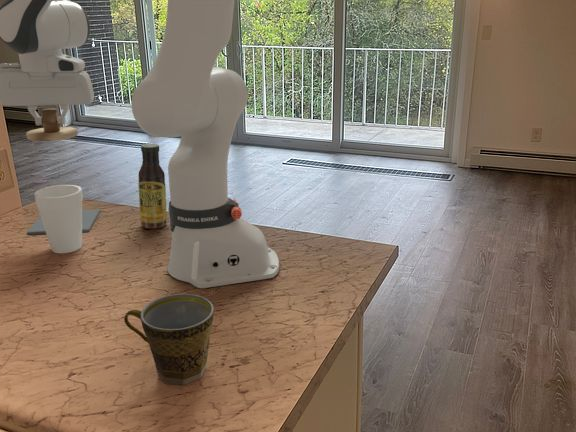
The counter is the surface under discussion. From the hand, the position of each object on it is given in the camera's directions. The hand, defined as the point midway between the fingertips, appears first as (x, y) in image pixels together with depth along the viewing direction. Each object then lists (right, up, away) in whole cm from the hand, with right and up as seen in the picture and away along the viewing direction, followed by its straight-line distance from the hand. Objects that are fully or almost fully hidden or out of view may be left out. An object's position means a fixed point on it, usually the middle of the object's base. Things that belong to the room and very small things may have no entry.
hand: (51, 124), depth 128 cm
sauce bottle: (+23, -24, +6) cm, 33 cm away
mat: (0, -23, +8) cm, 24 cm away
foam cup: (+6, -28, -6) cm, 29 cm away
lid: (0, -2, +1) cm, 3 cm away
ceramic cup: (+38, -44, -47) cm, 75 cm away
